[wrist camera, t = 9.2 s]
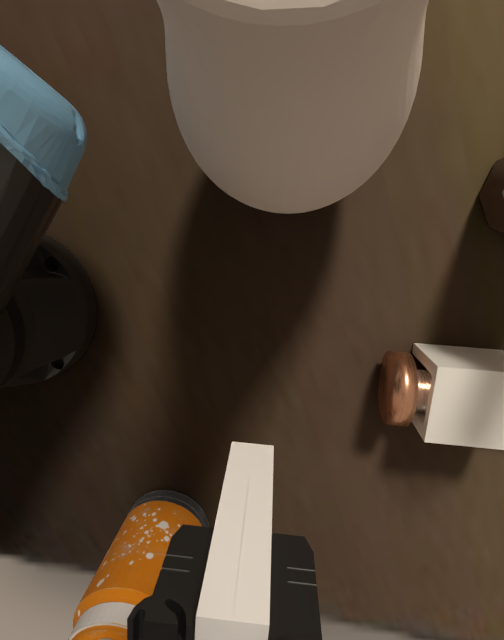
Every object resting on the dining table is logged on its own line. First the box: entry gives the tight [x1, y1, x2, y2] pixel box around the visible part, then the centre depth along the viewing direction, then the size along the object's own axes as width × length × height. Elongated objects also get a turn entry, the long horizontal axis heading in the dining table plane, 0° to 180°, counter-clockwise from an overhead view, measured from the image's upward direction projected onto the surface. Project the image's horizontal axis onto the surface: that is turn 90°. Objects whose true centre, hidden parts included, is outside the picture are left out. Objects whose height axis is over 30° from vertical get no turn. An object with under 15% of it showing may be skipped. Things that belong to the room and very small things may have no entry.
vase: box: [157, 0, 429, 214], centre depth 20 cm, size 14×14×30 cm
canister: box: [68, 490, 209, 640], centre depth 35 cm, size 9×11×20 cm
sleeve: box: [412, 343, 504, 450], centre depth 36 cm, size 8×7×6 cm
